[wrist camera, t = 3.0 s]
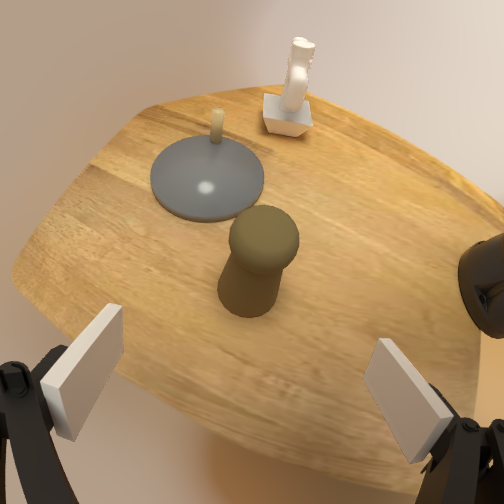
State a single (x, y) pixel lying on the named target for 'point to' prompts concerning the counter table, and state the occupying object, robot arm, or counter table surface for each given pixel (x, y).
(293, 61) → the figurine
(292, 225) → the brown rounded upright piece
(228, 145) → the coaster plate
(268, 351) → the counter table surface
